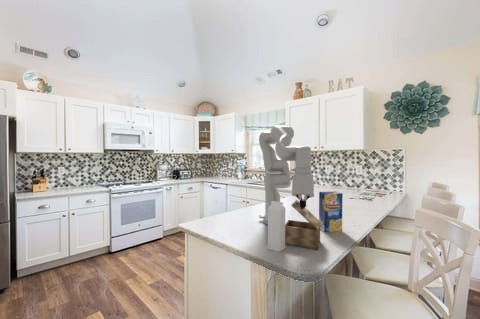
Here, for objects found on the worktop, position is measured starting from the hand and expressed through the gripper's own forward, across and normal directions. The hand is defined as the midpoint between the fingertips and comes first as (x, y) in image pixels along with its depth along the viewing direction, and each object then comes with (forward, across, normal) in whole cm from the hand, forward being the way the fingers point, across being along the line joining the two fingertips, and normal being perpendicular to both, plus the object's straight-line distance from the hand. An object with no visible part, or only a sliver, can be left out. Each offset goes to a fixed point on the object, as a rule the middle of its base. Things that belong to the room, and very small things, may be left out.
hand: (302, 208), depth 113 cm
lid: (+3, +1, 0) cm, 3 cm away
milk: (+18, -10, -12) cm, 24 cm away
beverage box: (+17, +12, +28) cm, 35 cm away
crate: (+17, 0, 0) cm, 17 cm away
